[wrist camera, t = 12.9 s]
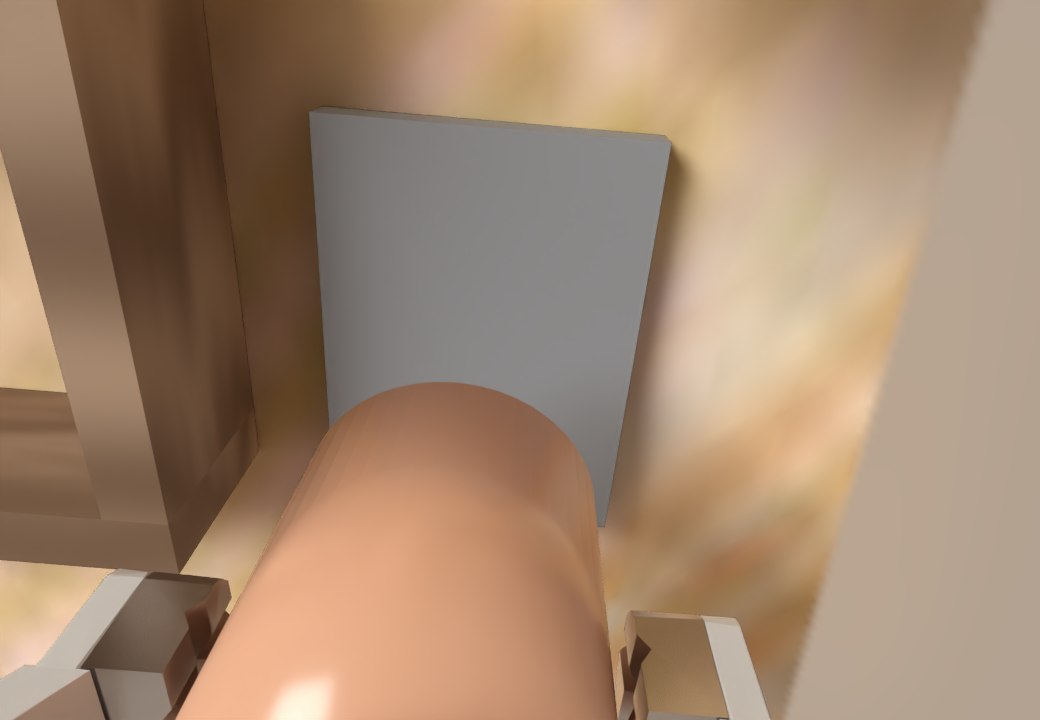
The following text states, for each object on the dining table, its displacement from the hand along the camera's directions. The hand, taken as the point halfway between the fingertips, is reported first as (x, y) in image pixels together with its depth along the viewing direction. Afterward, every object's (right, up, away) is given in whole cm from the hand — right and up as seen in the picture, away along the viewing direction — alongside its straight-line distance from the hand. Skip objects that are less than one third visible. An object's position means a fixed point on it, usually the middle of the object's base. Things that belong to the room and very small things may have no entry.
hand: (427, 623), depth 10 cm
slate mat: (0, +4, +8) cm, 10 cm away
